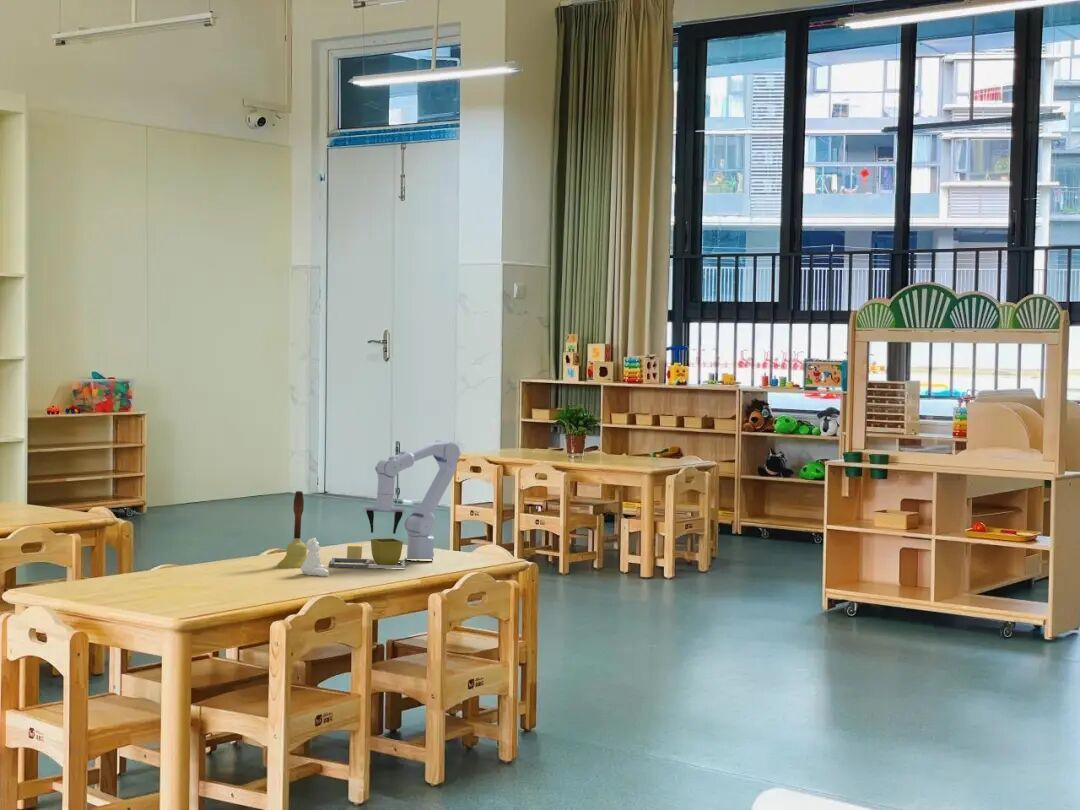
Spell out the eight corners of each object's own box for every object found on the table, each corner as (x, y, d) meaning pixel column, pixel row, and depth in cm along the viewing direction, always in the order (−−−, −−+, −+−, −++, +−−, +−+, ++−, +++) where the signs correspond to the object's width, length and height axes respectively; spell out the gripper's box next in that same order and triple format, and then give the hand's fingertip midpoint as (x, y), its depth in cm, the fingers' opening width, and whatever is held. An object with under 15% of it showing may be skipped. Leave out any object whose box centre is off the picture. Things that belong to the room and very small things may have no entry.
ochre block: (361, 558, 464) (362, 544, 464) (361, 560, 459) (361, 546, 459) (347, 558, 463) (347, 543, 463) (346, 560, 458) (347, 546, 458)
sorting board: (404, 563, 457) (404, 560, 457) (404, 569, 444) (405, 566, 444) (331, 561, 454) (332, 557, 454) (330, 567, 441) (330, 563, 441)
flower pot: (368, 564, 451) (370, 538, 451) (392, 563, 455) (393, 537, 455) (378, 568, 444) (379, 542, 443) (402, 567, 448) (403, 541, 447)
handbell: (287, 561, 450) (290, 488, 449) (320, 564, 446) (323, 491, 445) (270, 566, 438) (274, 491, 437) (304, 569, 434) (307, 494, 434)
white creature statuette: (329, 577, 423) (331, 540, 422) (302, 577, 420) (304, 539, 420) (325, 572, 432) (326, 535, 431) (298, 572, 429) (300, 535, 429)
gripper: (405, 493, 461) (403, 532, 461) (364, 491, 458) (361, 530, 458) (407, 495, 454) (404, 534, 454) (364, 493, 451) (362, 533, 451)
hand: (383, 532), depth 456 cm, fingers open, 7 cm apart
